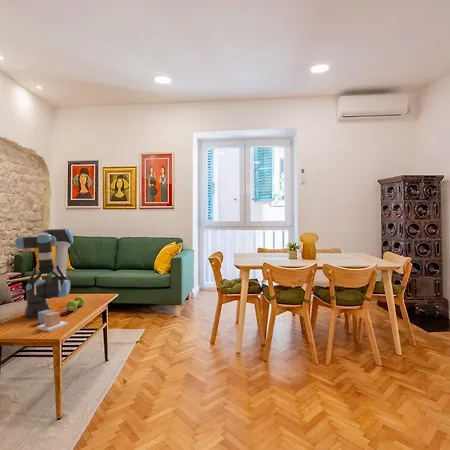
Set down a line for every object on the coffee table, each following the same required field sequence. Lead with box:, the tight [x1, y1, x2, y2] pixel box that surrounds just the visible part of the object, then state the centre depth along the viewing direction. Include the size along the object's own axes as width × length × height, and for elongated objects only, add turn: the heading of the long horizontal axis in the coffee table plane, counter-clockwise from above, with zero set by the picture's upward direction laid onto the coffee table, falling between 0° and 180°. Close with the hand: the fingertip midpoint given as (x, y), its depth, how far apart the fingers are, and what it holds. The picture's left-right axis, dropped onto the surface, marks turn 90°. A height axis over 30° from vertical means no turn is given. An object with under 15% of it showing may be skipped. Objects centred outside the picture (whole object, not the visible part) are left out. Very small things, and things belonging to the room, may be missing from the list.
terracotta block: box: [44, 310, 61, 327], centre depth 192 cm, size 6×6×7 cm
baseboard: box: [36, 320, 69, 333], centre depth 192 cm, size 12×12×2 cm
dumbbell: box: [65, 296, 86, 313], centre depth 230 cm, size 16×8×7 cm, turn 1°
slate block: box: [37, 309, 54, 325], centre depth 202 cm, size 6×6×7 cm
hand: (47, 292), depth 198 cm, fingers open, 13 cm apart
